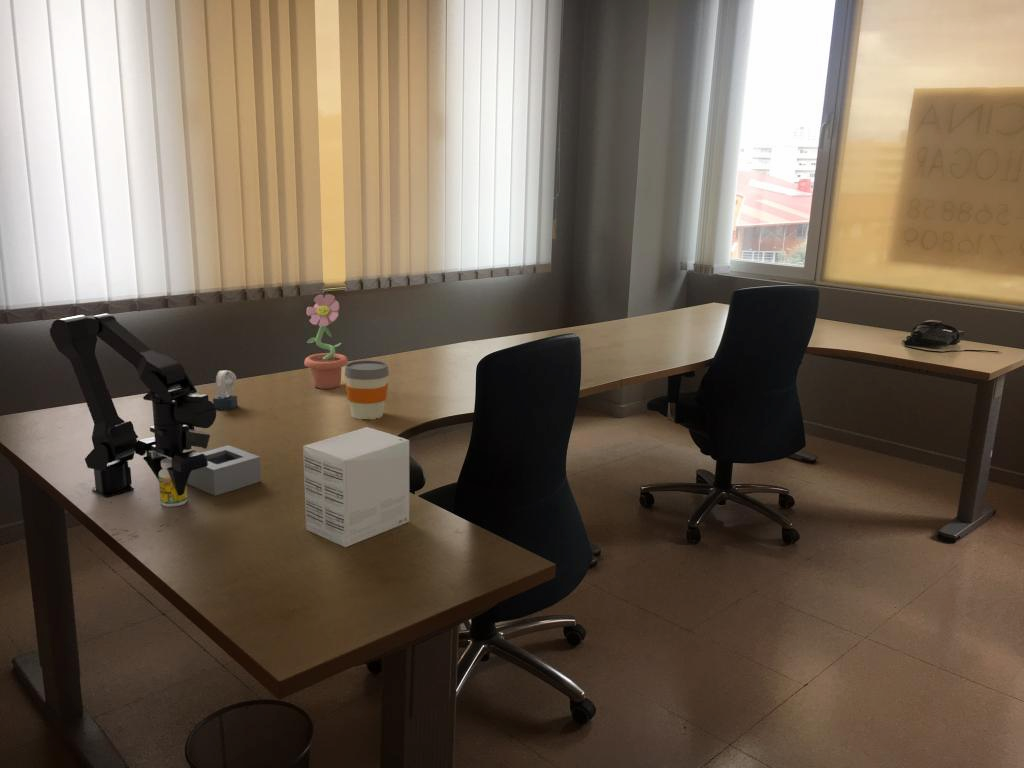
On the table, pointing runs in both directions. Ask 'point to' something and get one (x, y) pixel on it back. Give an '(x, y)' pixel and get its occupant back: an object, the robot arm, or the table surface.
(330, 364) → the decorative flower
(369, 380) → the reusable coffee cup
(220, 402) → the white bust figurine
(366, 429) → the supplement box
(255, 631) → the table surface
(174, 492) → the supplement bottle
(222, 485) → the drop box
